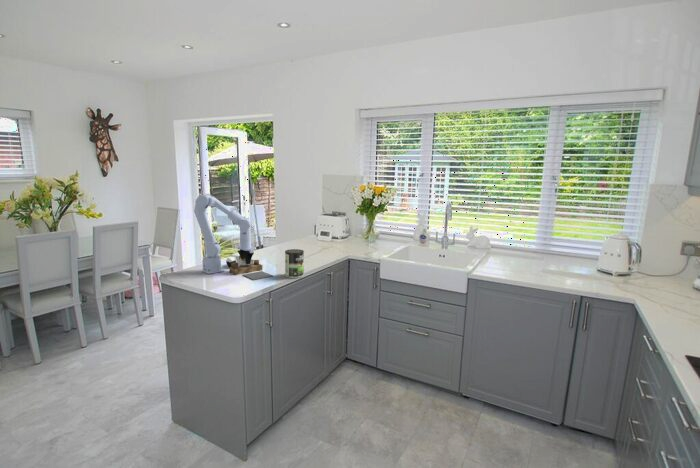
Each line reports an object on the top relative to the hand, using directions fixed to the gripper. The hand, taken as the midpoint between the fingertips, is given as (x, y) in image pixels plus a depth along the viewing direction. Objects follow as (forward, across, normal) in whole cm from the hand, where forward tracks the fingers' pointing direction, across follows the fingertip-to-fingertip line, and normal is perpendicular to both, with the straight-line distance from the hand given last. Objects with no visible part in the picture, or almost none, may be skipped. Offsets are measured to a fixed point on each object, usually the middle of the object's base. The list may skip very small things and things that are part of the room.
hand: (246, 263), depth 213 cm
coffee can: (+5, -25, -16) cm, 30 cm away
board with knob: (+5, 0, 0) cm, 5 cm away
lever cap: (0, 0, 0) cm, 0 cm away
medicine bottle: (+1, +15, -7) cm, 17 cm away
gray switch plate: (+5, -13, 0) cm, 14 cm away
